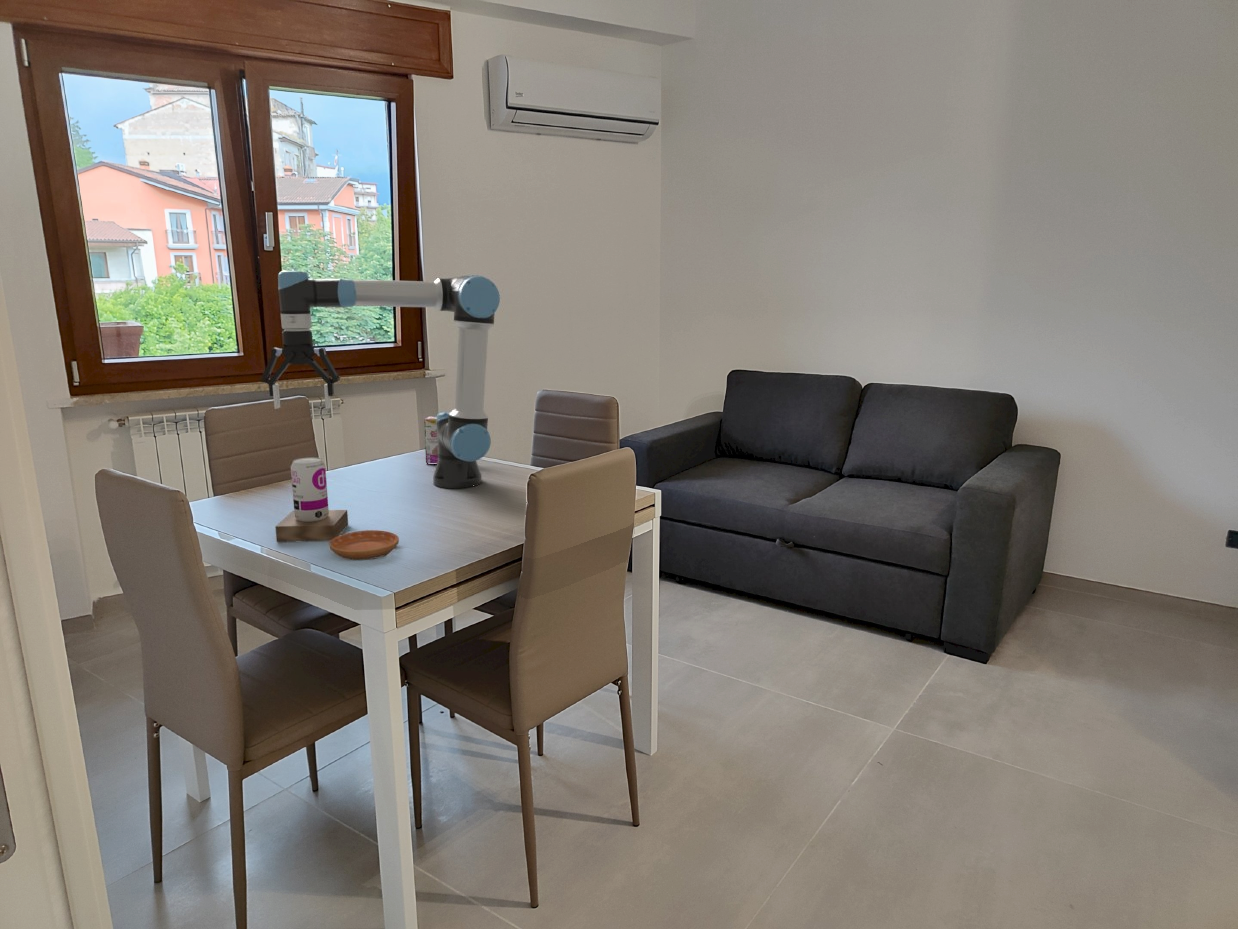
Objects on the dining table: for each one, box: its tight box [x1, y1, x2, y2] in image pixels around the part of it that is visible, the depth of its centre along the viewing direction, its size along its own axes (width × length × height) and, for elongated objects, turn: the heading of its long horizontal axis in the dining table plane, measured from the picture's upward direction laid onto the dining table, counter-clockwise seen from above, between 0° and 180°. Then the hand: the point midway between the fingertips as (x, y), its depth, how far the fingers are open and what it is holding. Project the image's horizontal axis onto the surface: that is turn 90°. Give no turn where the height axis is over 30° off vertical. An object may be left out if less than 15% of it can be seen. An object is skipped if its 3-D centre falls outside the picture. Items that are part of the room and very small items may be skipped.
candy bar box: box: [423, 416, 438, 464], centre depth 287 cm, size 11×5×16 cm, turn 84°
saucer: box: [328, 529, 400, 561], centre depth 196 cm, size 16×16×3 cm
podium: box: [274, 509, 349, 543], centre depth 209 cm, size 14×14×4 cm
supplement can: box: [290, 457, 330, 522], centre depth 207 cm, size 8×8×15 cm
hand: (303, 408), depth 225 cm, fingers open, 13 cm apart
